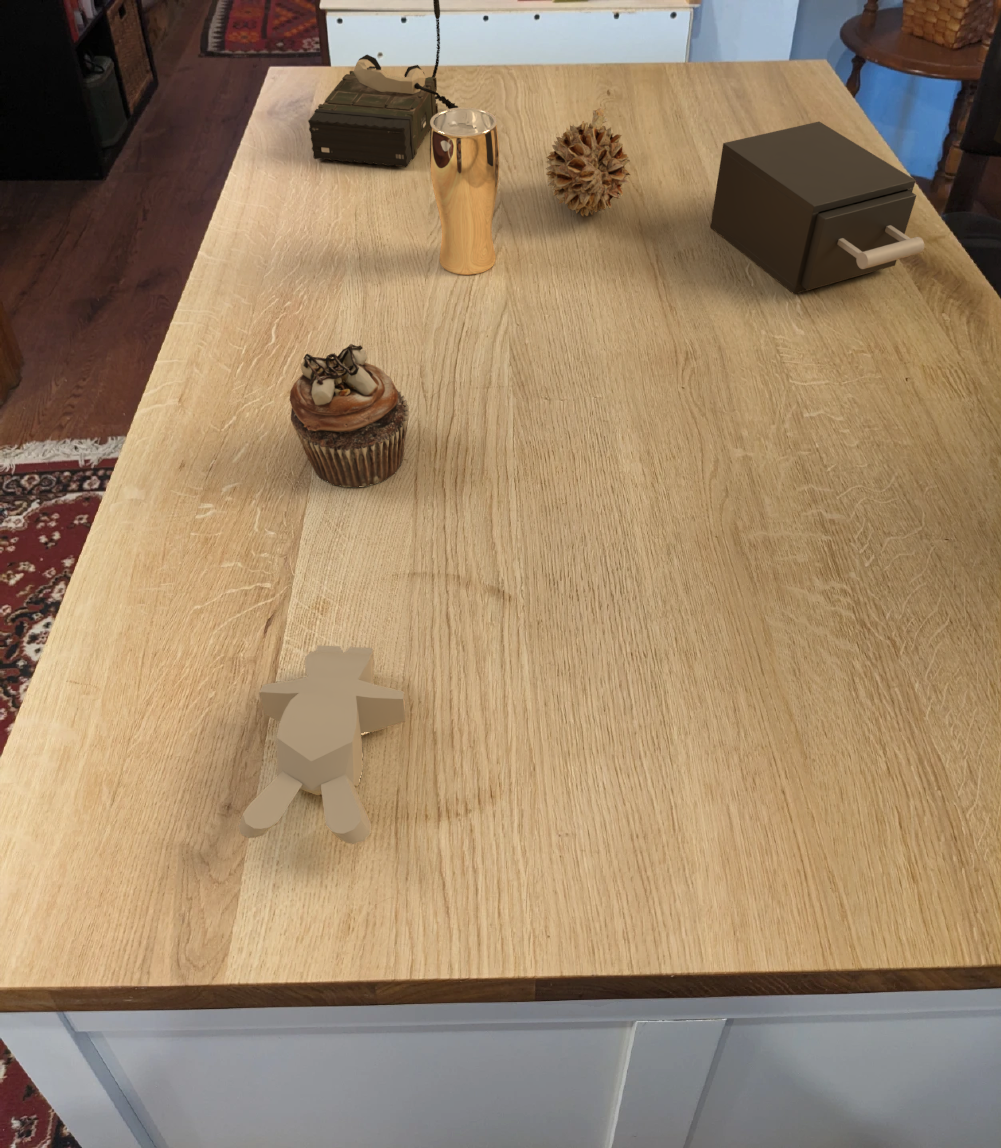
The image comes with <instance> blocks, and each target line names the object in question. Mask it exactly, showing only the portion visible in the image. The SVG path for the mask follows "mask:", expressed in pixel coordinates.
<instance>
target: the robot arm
mask: <svg viewBox="0 0 1001 1148" xmlns="http://www.w3.org/2000/svg"><path fill="white" fill-rule="evenodd" d="M992 141H995V142H996V143H998V144H1000V145H1001V118H1000V120H999V122H998V126H997V128H996V131H995V134H994V137H993V140H992Z"/></svg>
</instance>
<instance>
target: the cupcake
mask: <svg viewBox="0 0 1001 1148" xmlns="http://www.w3.org/2000/svg"><path fill="white" fill-rule="evenodd" d="M367 360H368V353H367V352H366V350H365V348H364V347H362V345H355V344H353V343H349V345H348V346H346V347H345V348H343V349H341V351H340V353H339V354H338V355H337V354H336V353H335V352H334V353H333V352H332V353H329V354H327V355H326V357H319V356H313V355H311V354H310V353H306V354H305V355H304V356H303V361H302V363H301V364H300V365H301V366H300V371H301V375H300V376H299V377H298V378H297V380H296V381H295V382H294V383H293V385H292V387H291V389H290V391H289V403H290V406H291V410H290V421H291V423H292V427H293V429H294V431H295V432H296V435H297V438H298V439H299V441H300V443H301V445H302V449H303V450H304V453H305V455H306V457H307V458H308V461H309V463H310V465H311V467H312V468H313V471H314V472H315V474H316V475H317V476H318V477H319V479H321V480H322V479H323V481H324V480H326V481H328V482H329V483H328V482H327V483H328V484H330V483H331V484H330V485H332V484H334V485H333V486H335V485H338V486H337V487H341V486H344V487H343V488H347V487H358V488H360V487H359V486H367V487H370V486H371V485H370V484H373V485H376V484H375V483H378V484H380V483H379V482H381V483H383V482H384V480H385V481H386V480H388V479H389V478H391V477H392V476H394V475H395V474H396V473H397V471H398V470H399V469H400V467H401V466H402V463H403V461H404V455H405V454H404V453H405V444H406V438H407V433H408V426H409V419H410V412H411V411H410V406H409V404H408V400H407V399H405V397H406V396H405V395H402V392H401V391H399V390H398V388H397V386H396V385H395V383H394V382H393V379H392V377H390V375H388V374H387V373H386V371H384V370H382V369H381V368H380V367H378V366H376V365H374V364H371V363H368V362H367ZM395 472H396V473H395ZM326 481H325V482H326ZM382 481H383V482H382ZM339 485H341V486H339ZM369 485H370V486H369Z"/></svg>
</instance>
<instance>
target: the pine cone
mask: <svg viewBox="0 0 1001 1148" xmlns="http://www.w3.org/2000/svg"><path fill="white" fill-rule="evenodd" d="M604 111H605V108H604V107H603V106H600V107H599V108H597V109H595V110H592V119H591V122H585V121H584V120H583V121H582V122H581V124H580V125H578V126H575V125H574V124H572V125H571V124H569V128H568V127H566V131H564V132H563V134H562V135H561V136H556V140H554V144H551V146H552V149H553V151H550V152H549V155H547V156H546V157H545V158H546V159H547V160H546V164H548V165H549V166H548V167H546V168H545V170H547V172H546V174H545V175H546V176H548V178H547V183H549V184H547V186H548V187H549V188H552V190H553V197H555V196H556V199H557V200H558V204H563V203H565V205H567V209H569V210H572V211H575V214H576V215H577V214H578V213H579V212H580V213H579V214H580V215H581V217H584V216H586V217H589V213H590V215H592V216H593V215H594V212H595V213H597V212H598V211H601V212H602V213H605V209H606V208H608V209H611V208H612V206H613V205H612V203H611V201H612V200H613V198H615V199H617V200H620V199H621V197H623V195H624V192H623V187H622V185H626V184H630V182H629V181H628V180H627V179H629V177H628V176H631V175H632V174H631V173H630V172H629V171H628V170H627V169H626V167H625V166H626V165H628V164H629V163H630V161H631V160H630V159H629V155H628V154H627V153H625V152H623V147H624V146H623V145H624V143H620V140H621V138H622V134H619V133H617V134H615V135H614V133H613V132H612V127H611V126H610V127H609V128H607V127H606V125H604V123H606V122H607V123H608V122H609V119H608V116H607V115H605V116H604V114H605V112H604ZM620 196H621V197H620Z"/></svg>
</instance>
